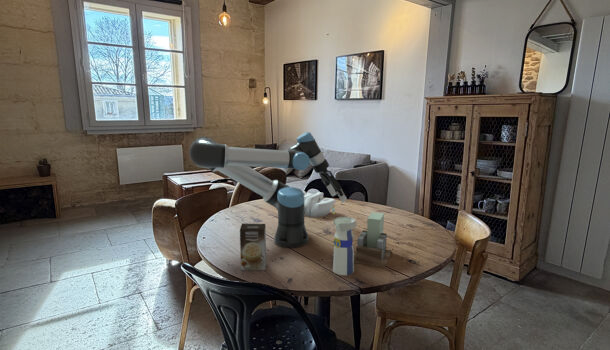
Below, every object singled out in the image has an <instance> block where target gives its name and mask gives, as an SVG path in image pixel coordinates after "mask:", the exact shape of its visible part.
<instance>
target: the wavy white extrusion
mask: <svg viewBox="0 0 610 350" xmlns="http://www.w3.org/2000/svg"><path fill="white" fill-rule="evenodd" d="M302 191H303V193H304V198H305V201H304V217H305V216H306V217H310V218H321V217H326V216H327V215H329V213H330V212H331V211H332V207H333V205H334V206H335V203H336V202H337V200H336V199H334V198H329V197H325V198H323V197H324V192H320V191H319V192H316V193H310V192H306V191H305V190H302Z"/></svg>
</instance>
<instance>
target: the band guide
mask: <svg viewBox="0 0 610 350" xmlns="http://www.w3.org/2000/svg"><path fill="white" fill-rule="evenodd" d="M356 239H357V240H356V241H357V245H356V247H355V252H354V263H355V264H361V265H367V266H373V267H379V268H384V269H385V268H386V266H387V264H388V261H389V259H390V257H391V254H392V250H391V249H387V233H384V232H383V233H381V235H380V237H379V239H378V241H377V249H376V248H370V247H367V230H362V231H361V232H360V234H359V235H358V237H357V238H356Z"/></svg>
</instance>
